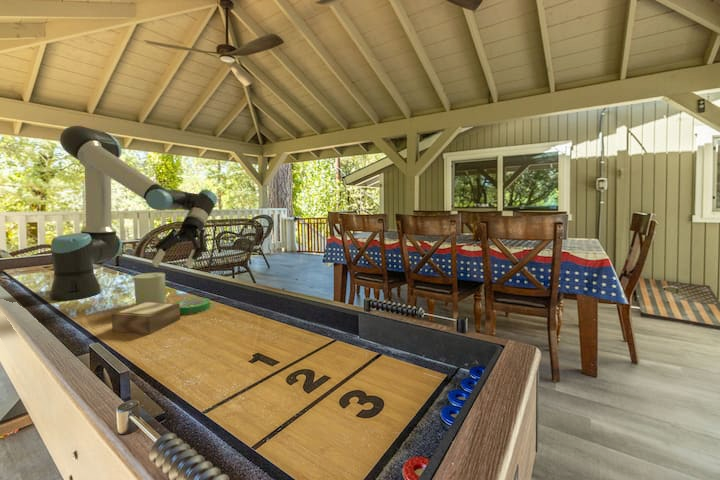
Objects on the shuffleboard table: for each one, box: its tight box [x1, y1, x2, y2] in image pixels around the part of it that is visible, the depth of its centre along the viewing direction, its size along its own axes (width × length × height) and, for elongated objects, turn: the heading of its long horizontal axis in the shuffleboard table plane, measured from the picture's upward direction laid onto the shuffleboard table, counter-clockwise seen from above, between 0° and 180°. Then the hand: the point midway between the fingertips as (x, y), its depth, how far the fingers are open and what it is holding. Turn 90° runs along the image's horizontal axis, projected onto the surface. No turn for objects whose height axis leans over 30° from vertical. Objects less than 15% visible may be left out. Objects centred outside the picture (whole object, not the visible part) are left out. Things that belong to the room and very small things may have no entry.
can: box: [133, 272, 168, 305], centre depth 115 cm, size 9×9×12 cm
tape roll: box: [175, 297, 211, 315], centre depth 115 cm, size 11×11×3 cm
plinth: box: [110, 302, 181, 335], centre depth 100 cm, size 12×12×5 cm
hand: (170, 265), depth 123 cm, fingers open, 13 cm apart
